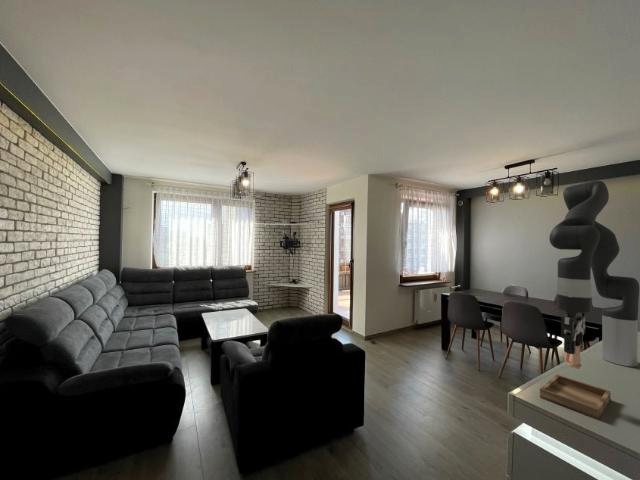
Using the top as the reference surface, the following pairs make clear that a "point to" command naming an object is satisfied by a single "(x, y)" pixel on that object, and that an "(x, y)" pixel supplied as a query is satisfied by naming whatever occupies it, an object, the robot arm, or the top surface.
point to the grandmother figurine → (575, 358)
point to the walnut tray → (576, 396)
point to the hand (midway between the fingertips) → (573, 349)
